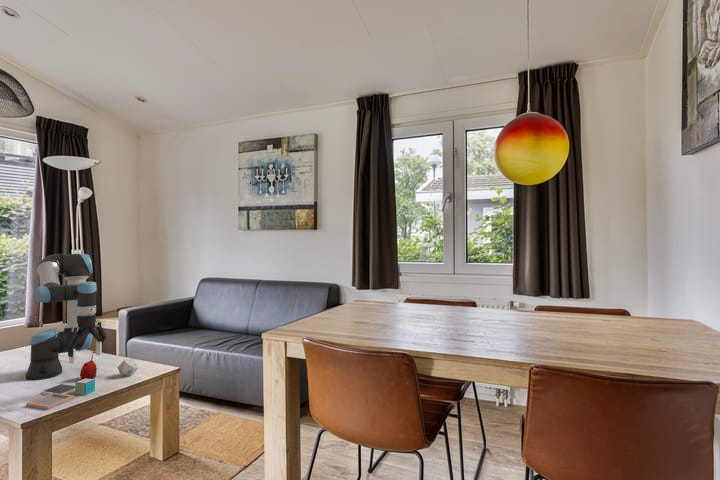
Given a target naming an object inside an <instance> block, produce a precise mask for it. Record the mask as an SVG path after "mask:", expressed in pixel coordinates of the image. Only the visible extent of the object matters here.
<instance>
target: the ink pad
mask: <svg viewBox="0 0 720 480" xmlns="http://www.w3.org/2000/svg"><path fill="white" fill-rule="evenodd" d="M52 393H59V394H66V395H70V394H71V393H75V385H72V384H64V383H60V384H57V385H55V386H52V387H50V388H47V389H44V390H41V391H40V394H41V395H45V396H47V395H49V394H52Z"/></svg>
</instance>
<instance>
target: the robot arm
mask: <svg viewBox="0 0 720 480" xmlns="http://www.w3.org/2000/svg"><path fill="white" fill-rule="evenodd" d="M35 270H36V274H37V275H38V276H39V283H40V284H39V285H40V286H37V287H36V290H35V291H36V292H35V301H36V302H37V303H53V302H67V304H66V305H67V306H66V311H67V314H66V315H67V318H66V319H67V321H66V325H65V326H64V327H63V331H62V330H61V331H60V329H58V328H51V329H46V330H42V331H39V332H36V333H33V335H32V336H31V338H30V363H29V366H28V368H27V371H26V373H25V379H26V380H32V381H36V380H37V381H38V380H44V379H50V378H54V377H58V376H60V375H61V374H63V367H62V364H61V362H60V359H59V354H65V353H67V356H68V359H69V360H68V363H69V364H72V365H73V364H74V365H75V364H76V352H81V351H83V350H88V349H89V348H90V347H91V345H92V340H93V338H94V339H95V340H96V341H95V352H96V353H95V355H96V356H102V348H103V346H104V345H103V343H104V342H105V341H106V340H107V335H106V333H105V331H104V329H103V327H102V322H101V321H97V314H96V313H97V290H98V288H97V282H95V281H87V279H89V278H90V275H92V274H93V263H92V259H91V255H89V254H87V253H55V254H50V255H47V256H46V257H44V258H43V259H41V260H40V261H39V262H38V263H37V265H36V269H35ZM59 276H63V279H64V280H65V281H66V283H67V284H64V285H63V284H62V285H61V282H60V278H59Z"/></svg>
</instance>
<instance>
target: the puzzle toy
mask: <svg viewBox="0 0 720 480" xmlns="http://www.w3.org/2000/svg"><path fill="white" fill-rule="evenodd" d="M74 383H75V384H74V386H75V391H74V394H75V395H78V396H87V395H88V394H91V393H94V392H95V390H96V379H95V378H93V379H83V380H81V379H80V380H78V381H76V382H74Z"/></svg>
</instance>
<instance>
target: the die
mask: <svg viewBox="0 0 720 480" xmlns="http://www.w3.org/2000/svg"><path fill="white" fill-rule="evenodd" d="M138 369H139V366H138V364H137V361H136V359H127V358H126V359H124V360H122V362H121V363H120V364H119V365H118V366H117V370H118V372H119V374H120V376H121V377H132V376H133V375H134V374H135V372H137V370H138Z"/></svg>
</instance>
